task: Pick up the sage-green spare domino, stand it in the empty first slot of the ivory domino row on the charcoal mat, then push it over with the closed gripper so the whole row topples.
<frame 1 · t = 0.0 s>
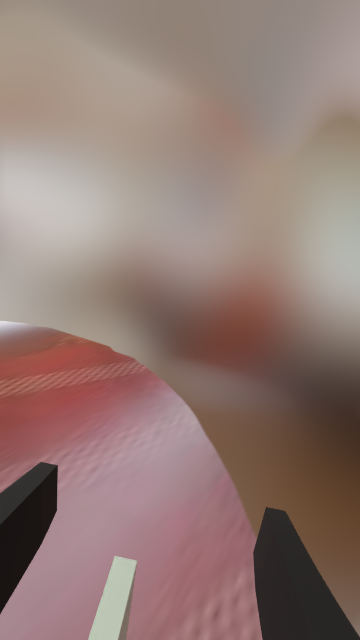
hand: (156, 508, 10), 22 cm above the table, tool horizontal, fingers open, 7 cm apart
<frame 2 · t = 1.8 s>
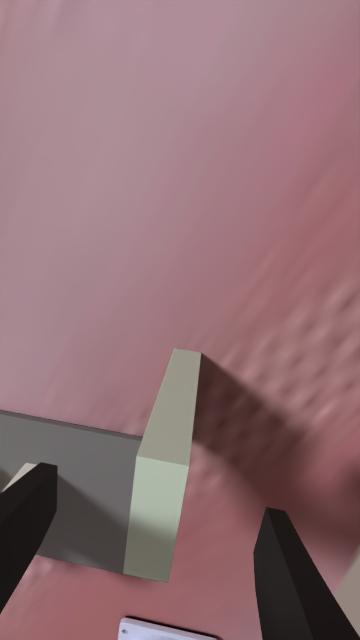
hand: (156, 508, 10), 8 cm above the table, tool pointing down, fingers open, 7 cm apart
spare domino: (181, 388, 18), on the table
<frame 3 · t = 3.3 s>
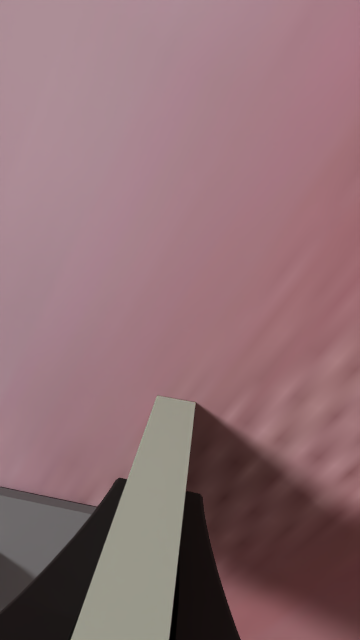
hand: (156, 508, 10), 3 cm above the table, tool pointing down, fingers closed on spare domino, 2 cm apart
spare domino: (168, 449, 13), on the table, touching gripper
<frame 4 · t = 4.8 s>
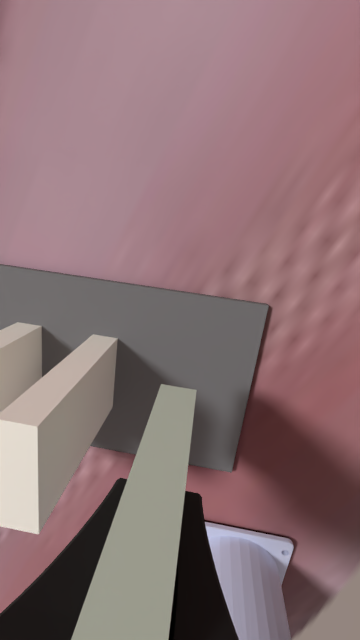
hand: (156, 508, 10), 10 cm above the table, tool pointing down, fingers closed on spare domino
domino 3: (30, 359, 20), resting on charcoal mat
charcoal mat: (33, 357, 20), on the table
spare domino: (172, 434, 14), point 6 cm above the table, touching gripper
domino 2: (103, 371, 20), resting on charcoal mat
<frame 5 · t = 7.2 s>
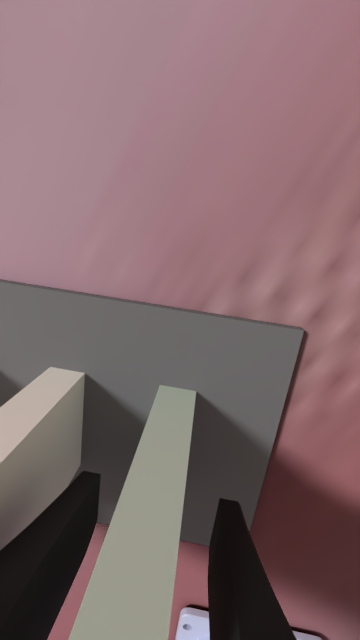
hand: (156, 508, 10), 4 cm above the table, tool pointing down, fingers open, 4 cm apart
spare domino: (171, 436, 14), resting on charcoal mat
domino 2: (66, 417, 14), resting on charcoal mat, touching gripper
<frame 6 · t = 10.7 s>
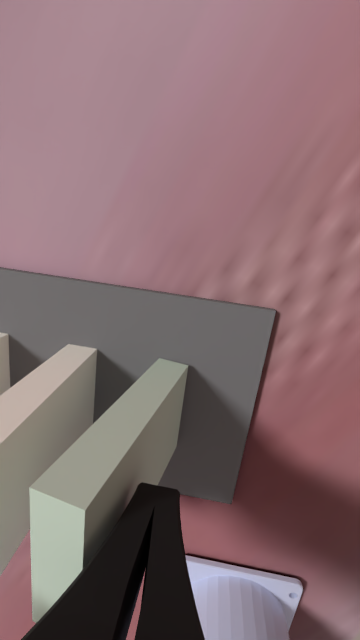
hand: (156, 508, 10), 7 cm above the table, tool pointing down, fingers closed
charcoal mat: (1, 369, 18), on the table
spare domino: (168, 403, 16), point 1 cm above the table, tilted 11°, touching charcoal mat
domino 2: (81, 387, 17), resting on charcoal mat
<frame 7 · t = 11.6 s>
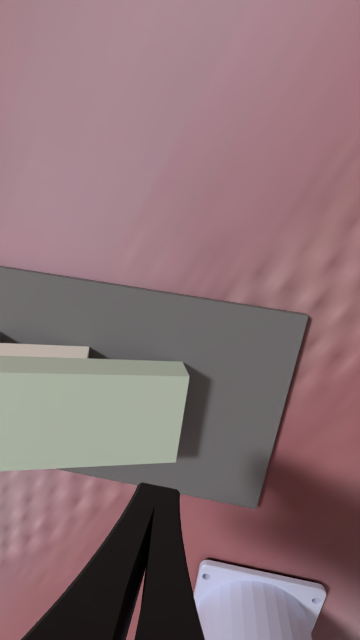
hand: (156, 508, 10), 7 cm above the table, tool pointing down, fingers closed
charcoal mat: (25, 372, 17), on the table
spare domino: (179, 411, 16), point 1 cm above the table, tilted 71°, touching charcoal mat, domino 2
domino 2: (85, 395, 16), point 1 cm above the table, tilted 72°, touching charcoal mat, domino 3, spare domino
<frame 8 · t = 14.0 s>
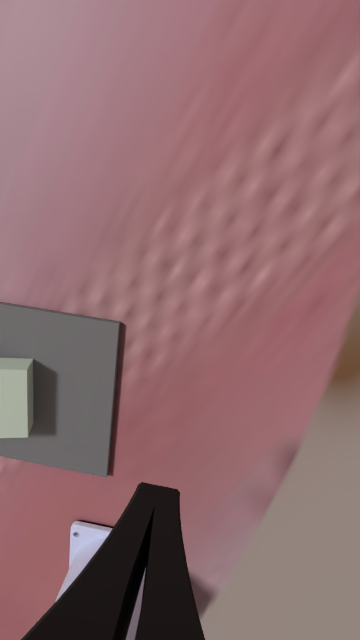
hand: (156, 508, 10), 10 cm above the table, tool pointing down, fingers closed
spare domino: (30, 398, 20), point 1 cm above the table, tilted 71°, touching charcoal mat, domino 2
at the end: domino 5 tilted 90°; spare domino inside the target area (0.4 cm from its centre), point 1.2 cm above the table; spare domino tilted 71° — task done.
